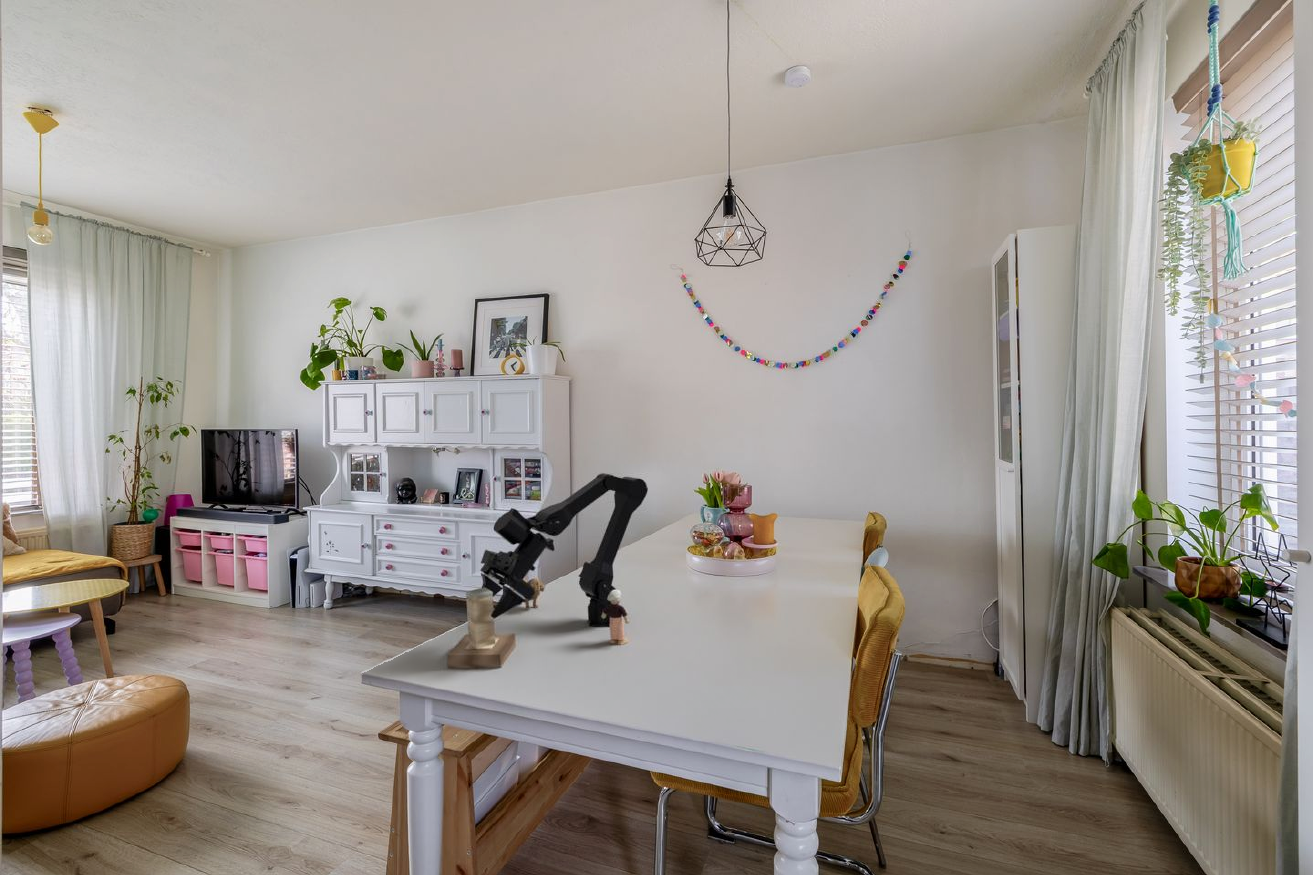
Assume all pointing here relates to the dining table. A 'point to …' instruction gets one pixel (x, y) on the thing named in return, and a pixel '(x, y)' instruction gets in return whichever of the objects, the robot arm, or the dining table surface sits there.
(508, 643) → the plinth
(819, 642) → the dining table surface
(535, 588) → the lion figurine
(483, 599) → the oak column
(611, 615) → the grandmother figurine
